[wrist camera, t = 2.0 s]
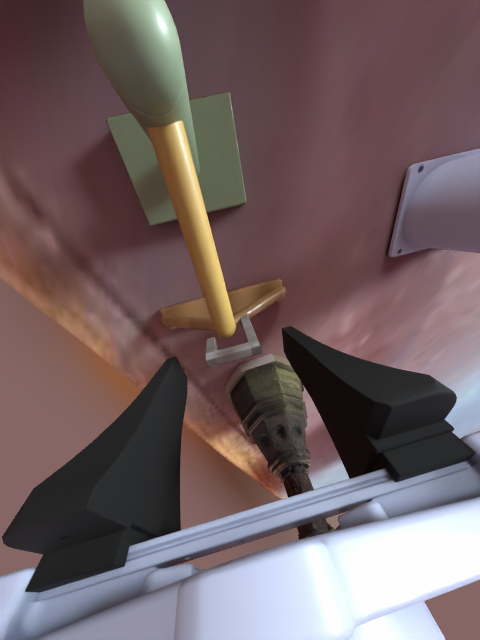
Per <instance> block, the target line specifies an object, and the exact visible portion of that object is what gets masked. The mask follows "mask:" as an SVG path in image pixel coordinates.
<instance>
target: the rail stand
mask: <svg viewBox="0 0 480 640" xmlns="http://www.w3.org/2000/svg"><path fill="white" fill-rule="evenodd" d="M83 8H84V17H85V23H86V28H87V32H88V35H89V39H90V42H91V45H92V48H93V51H94V53H95V56H96V58H97V60H98V63H99V65H100V66H101V68H102V70H103V72H104V74H105V76H106V77H107V79H108V80H109V82H110V83H111V85H112V86H113V87H114V89H115V91H116V92H117V94H118V95H119V96H120V98H121V99H122V101H123V102H124V104H125V105H126V106H127V108H128V109H129V111H130V112H131V113H127V114H123V115H118V116H113V117H108V118H106V122H107V124H108V126H109V129H110V131H111V134H112V136H113V138H114V141H115V143H116V146H117V148H118V150H119V153H120V155H121V158H122V160H123V162H124V165H125V167H126V170H127V172H128V174H129V177H130V179H131V182H132V184H133V187H134V189H135V191H136V194H137V196H138V199H139V201H140V203H141V206H142V208H143V211H144V213H145V215H146V218H147V220H148V223H149V225H150V226H155V225H159V224H163V223H167V222H172V221H176V220H178V221H179V224H180V227H181V230H182V233H183V236H184V239H185V242H186V245H187V248H188V251H189V254H190V257H191V260H192V263H193V266H194V269H195V272H196V275H197V278H198V281H199V284H200V287H201V290H202V293H203V296H204V299H205V301H206V304H207V307H208V310H209V313H210V316H211V319H212V322H213V325H214V328H215V331H216V333H217V334H218V335H219V336H220V337H224V338H227V337H230V336H232V335H233V334H234V332H235V329H236V325H235V321H234V317H233V313H232V309H231V306H230V302H229V298H228V294H227V290H226V286H225V282H224V278H223V275H222V271H221V267H220V263H219V259H218V255H217V251H216V248H215V244H214V240H213V236H212V232H211V228H210V224H209V221H208V217H207V213H210V212H214V211H218V210H223V209H227V208H231V207H235V206H239V205H244V204H245V203H246V202H247V201H246V195H245V188H244V182H243V175H242V169H241V162H240V155H239V149H238V142H237V136H236V129H235V123H234V116H233V110H232V103H231V97H230V93H229V92H227V93H222V94H217V95H213V96H208V97H203V98H198V99H194V100H189V96H188V90H187V84H186V77H185V71H184V65H183V59H182V52H181V47H180V42H179V38H178V34H177V30H176V27H175V24H174V21H173V18H172V16H171V13H170V11H169V9H168V7H167V4H166V3H165V1H164V0H83Z"/></svg>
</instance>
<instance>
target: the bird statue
mask: <svg viewBox="0 0 480 640" xmlns="http://www.w3.org/2000/svg"><path fill="white" fill-rule="evenodd" d="M225 386H226V394H227V396H228V398H229V400H230V402H231V404H232V406H233V408H234V410H235V412H236V413H237V414H238V416H239V418H240V419H241V421H242V422H241V424H242V426H243V428H244V430H245V432H246V434H247V436H248V437H250V439H251V441H252V443H253V444H257V446H258V447H259V449H260V450H261V452H262V453H263V455H264V456H265V458H266V459H267V461H268V470H269V472H271V473H272V474H273V476H275V477H277V478H281V479H280V480H281V482H282V483H284V486H285V489H286V492H287V495H288V498H289V497H292V496H295V495H299V494H302V493H305V492H308V491H312V490H314V489H313V487H312V484H311V481H310V479H309V477H308V473H309V470H307V469H308V468H309V466H311V453H310V452H309V451H308V449H306V435H305V428H306V427H307V420H306V419H307V412H306V406H305V402H303V400H302V399H303V395H302V392H303V391H304V388H303V384H302V382H301V381H300V379H299V378H298V376H297V374H296V373H295V371H294V370H293V368H292V367H291V365H290V363H289V361H288V359H286V358H283V357H281V356H278V355H275V354H273V353H271V354H268V355H265V356H262V357H259V358H256V359H253V360H249V361H246V362H243V363H240V364H239V365H238V366H237V368H236V369H235V371H234V372H233V374H232V375H231V377H230V378H229V380H228V381H227V383H226V384H225ZM297 529H298V532H299V535H298V536H299V540H300V539H304V538H308V537H312V536H316V535H320V534H324V533H329V532H333V531H335V530H334V528H333V527H331V526H330V524H328V523H327V522H326V519H322V520H318V521H315V522H312V523H309V524H305V525H302V526H299V527H297Z"/></svg>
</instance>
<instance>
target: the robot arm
mask: <svg viewBox="0 0 480 640" xmlns="http://www.w3.org/2000/svg"><path fill="white" fill-rule="evenodd" d="M418 169H419V171H418ZM428 248H436V249H445V250H455V251H464V252H474V253H480V149H475V150H471V151H467V152H463V153H458V154H454V155H450V156H446V157H441V158H437V159H433V160H429V161H424V162H420V163H416V164H413V165H411V166H410V167H409V168H408V170H407V172H406V177H405V181H404V186H403V190H402V194H401V199H400V203H399V208H398V212H397V217H396V221H395V226H394V230H393V234H392V239H391V243H390V248H389V252H388V255H389V256H390V257H396V256H400V255H404V254H408V253H412V252H416V251H420V250H424V249H428ZM398 250H399V251H398ZM282 336H283V346H284V353H285V355H286V357H287V359H288V361H289V363H290V365H291V367H292V368H293V370H294V371H295V373H296V374H297V376H298V378H299V379H300V381H301V382H302V384H303V385H304V387H305V388H306V390H307V391H308V393H309V395H310V397H311V398H312V400H313V402H314V404H315V406H316V408H317V410H318V412H319V414H320V416H321V418H322V420H323V422H324V424H325V426H326V428H327V430H328V432H329V434H330V436H331V438H332V440H333V443H334V445H335V447H336V449H337V451H338V453H339V456H340V458H341V460H342V462H343V464H344V467H345V469H346V471H347V473H348V476H349V478H350V479H348V480H345V481H341V482H338V483H335V484H331V485H328V486H325V487H322V488H318V489H315V490H312V491H308V492H305V493H302V494H299V495H295V496H292V497H289V498H286V499H282V500H279V501H276V502H272V503H269V504H266V505H263V506H259V507H256V508H253V509H250V510H246V511H243V512H240V513H236V514H233V515H230V516H227V517H223V518H220V519H217V520H213V521H210V522H207V523H203V524H200V525H197V526H194V527H190V528H187V529H184V530H181V528H180V527H181V526H180V452H181V450H180V449H181V434H182V425H183V419H184V412H185V405H186V398H187V376H186V374H185V372H184V370H183V368H182V367H181V365H180V363H179V361H178V359H177V357H173V358H169V359H167V360H166V361H165V362H164V363H163V365H162V366H161V367H160V369H159V370H158V371H157V373H156V374H155V375H154V377H153V378H152V379H151V381H150V382H149V383H148V384H147V386H146V387H145V388H144V389H143V390H142V392H141V393H140V394H139V395H138V397H137V398H136V399H135V400H134V401H133V402H132V403H131V405H130V406H129V407H128V408H127V409H126V410H125V411H124V412H123V413H122V414H121V415H120V416H119V417H118V418H117V419H116V420H115V421H114V422H113V423H112V424H111V425H110V426H109V427H108V428H107V429H106V430H105V431H104V432H103V433H102V434H100V436H98V437H97V438H96V439H95V440H94V441H93V442H92V443H90V444H89V445H88V446H87V447H86V448H85V449H83V450H82V451H81V452H80V453H79V454H77V455H76V456H75V457H74V458H73V459H71V460H70V461H69V462H68V463H66V464H65V465H64V466H63V467H61V468H60V469H59V470H57V471H56V472H55V473H53V474H52V475H51V476H50V477H48V478H47V479H46V480H44V481H43V482H42V483H40V484H39V485H38V486H36V487H35V488H34V489H33V490H32V492H31V493H30V495H29V497H28V498H27V500H26V501H25V503H24V504H23V506H22V507H21V509H20V510H19V512H18V513H17V515H16V516H15V518H14V519H13V521H12V523H11V524H10V526H9V527H8V529H7V530H6V532H5V533H4V535H3V536H2V539H3V542H4V544H5V545H6V546H8V547H11V548H15V549H19V550H24V551H29V552H34V553H39V554H43V556H42V558H41V560H40V562H39V564H38V566H37V567H34V568H27V569H23V570H19V571H16V572H13V573H9V574H7V575H3V576H0V640H445V638H444V636H443V634H442V633H441V631H440V629H439V627H438V626H437V624H436V622H435V620H434V619H433V617H432V615H431V614H430V612H429V610H428V608H427V607H426V605H425V603H424V601H425V600H427V599H430V598H433V597H435V596H438V595H440V594H443V593H446V592H448V591H451V590H453V589H456V588H459V587H461V586H464V585H467V584H469V583H472V582H475V581H477V580H480V431H478V432H475V433H472V434H469V435H466V436H465V437H463V438H461V439H459V438H458V437H457V436H456V435H455V434H453V433H452V432H451V431H453V430H454V428H453V426H451V425H450V424H449V423H448V422H447V421H445V420H444V419H445V418H446V416H447V415H448V414H449V412H450V411H451V410H452V408H453V407H454V405H455V403H456V399H457V397H456V394H455V393H454V392H453V391H452V390H450V389H449V388H447V387H446V386H444V385H443V384H441V383H440V382H439V381H437V380H436V379H434V378H433V377H431V376H430V375H426V374H421V373H416V372H411V371H406V370H400V369H396V368H392V367H388V366H384V365H380V364H376V363H373V362H369V361H366V360H363V359H360V358H356V357H353V356H351V355H348V354H345V353H343V352H340V351H338V350H335V349H333V348H331V347H328V346H326V345H324V344H322V343H320V342H318V341H316V340H314V339H312V338H310V337H309V336H307V335H305V334H303V333H302V332H300V331H298V330H296V329H295V328H293V327H291V326H289V327H286V328H282ZM347 511H348V512H347ZM344 512H346V513H344ZM340 513H344V514H342V515H340V516H338V522H339V524H340V525H339V526H338V527H337V528H336V529H335V531H333V532H329V533H324V534H320V535H316V536H312V537H308V538H304V539H300V540H296V541H292V542H288V543H285V544H281V545H278V546H275V547H271V548H268V549H265V550H261V551H258V552H255V553H252V554H248V555H245V556H242V557H240V558H237V559H234V560H231V561H228V562H225V563H222V564H220V565H217V566H214V567H212V568H209V569H207V570H206V569H198V568H195V567H193V566H192V564H186V565H179V566H174V565H177V564H181V563H184V562H187V561H190V560H193V559H196V558H200V557H203V556H206V555H209V554H213V553H215V552H219V551H222V550H225V549H228V548H232V547H235V546H238V545H241V544H245V543H248V542H251V541H254V540H257V539H261V538H264V537H267V536H270V535H273V534H277V533H280V532H283V531H286V530H289V529H293V528H295V527H299V526H302V525H305V524H309V523H312V522H315V521H318V520H322V519H325V518H328V517H331V516H334V515H337V514H340ZM171 566H174V567H171Z"/></svg>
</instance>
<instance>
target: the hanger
mask: <svg viewBox="0 0 480 640" xmlns="http://www.w3.org/2000/svg"><path fill="white" fill-rule="evenodd" d="M227 294H228V298H229V302H230V306H231V309H232V313H236V314H234V315H233V317H234V321H235V325H236V328H237V327H239V326H240V325H242V327H243V330H244V333H245V336H246V339H247V343H244V344H240V345H236V346H232V347H228V348H225V349H221V350H217V342H216V339H215V337H213V338H209V339H206V362H207V365H208V367H212V366H215V365H219V364H223V363H227V362H230V361H234V360H238V359H241V358H245V357H249V356H253V355H257V354H260V353H262V351H261V345H260V343H259V341H258V338H257V336H256V334H255V331H254V329H253V327H252V324H251V322H250V320H249V319H250V318H252V317H253V316H255V315H256V314H258V313H259V312H261V311H262V310H264V309H265V308H267V307H268V306H269V305H271V304H272V303H276V302H280V301H283V296H284V295H285V294H286V289H285V287H283V286H282V281H281V280H280V279H275V280H271V281H267V282H263V283H259V284H256V285H252V286H248V287H244V288H240V289H236V290H232V291H228V292H227ZM160 312H161V314H162V316H163V317H162V318H161V323H162V325H163V326H168V328H169V330H172V329H176V328H179V327H181V328H191V329H201V330H211V331H215V328H214V325H213V322H212V319H211V316H210V313H209V310H208V307H207V304H206V301H205V299H204V298H200V299H196V300H193V301H189V302H185V303H181V304H177V305H173V306H169V307H165V308H162V309H161V311H160ZM237 312H238V313H237Z"/></svg>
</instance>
